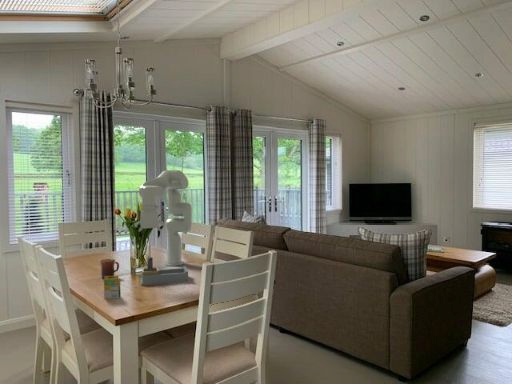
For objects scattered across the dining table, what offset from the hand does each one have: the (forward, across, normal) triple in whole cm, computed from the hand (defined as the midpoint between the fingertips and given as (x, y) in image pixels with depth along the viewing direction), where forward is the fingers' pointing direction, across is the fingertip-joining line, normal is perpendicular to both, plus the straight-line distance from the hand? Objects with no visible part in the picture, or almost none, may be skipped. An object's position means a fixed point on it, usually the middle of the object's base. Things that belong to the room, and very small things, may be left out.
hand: (149, 237), depth 228 cm
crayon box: (+26, +19, +26) cm, 41 cm away
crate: (+24, 0, 0) cm, 24 cm away
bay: (+26, -8, 0) cm, 27 cm away
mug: (+26, +23, -16) cm, 38 cm away
